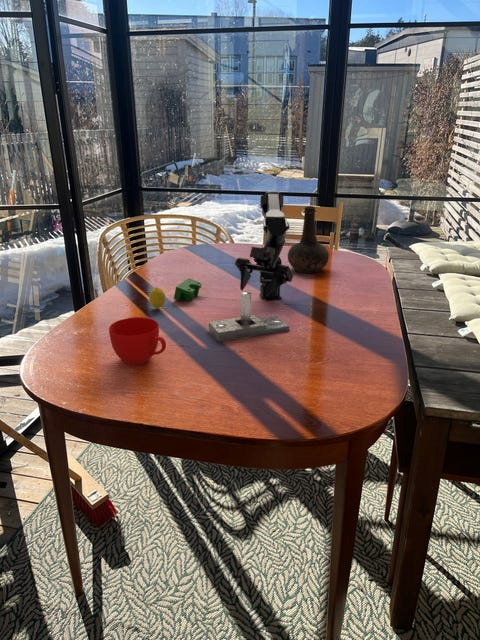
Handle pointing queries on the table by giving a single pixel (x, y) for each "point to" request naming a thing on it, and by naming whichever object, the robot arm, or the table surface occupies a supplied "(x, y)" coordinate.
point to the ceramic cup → (136, 339)
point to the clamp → (187, 290)
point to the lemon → (157, 298)
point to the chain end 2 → (267, 327)
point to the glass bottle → (308, 247)
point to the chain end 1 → (234, 328)
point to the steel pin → (245, 309)
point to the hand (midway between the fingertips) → (253, 292)
